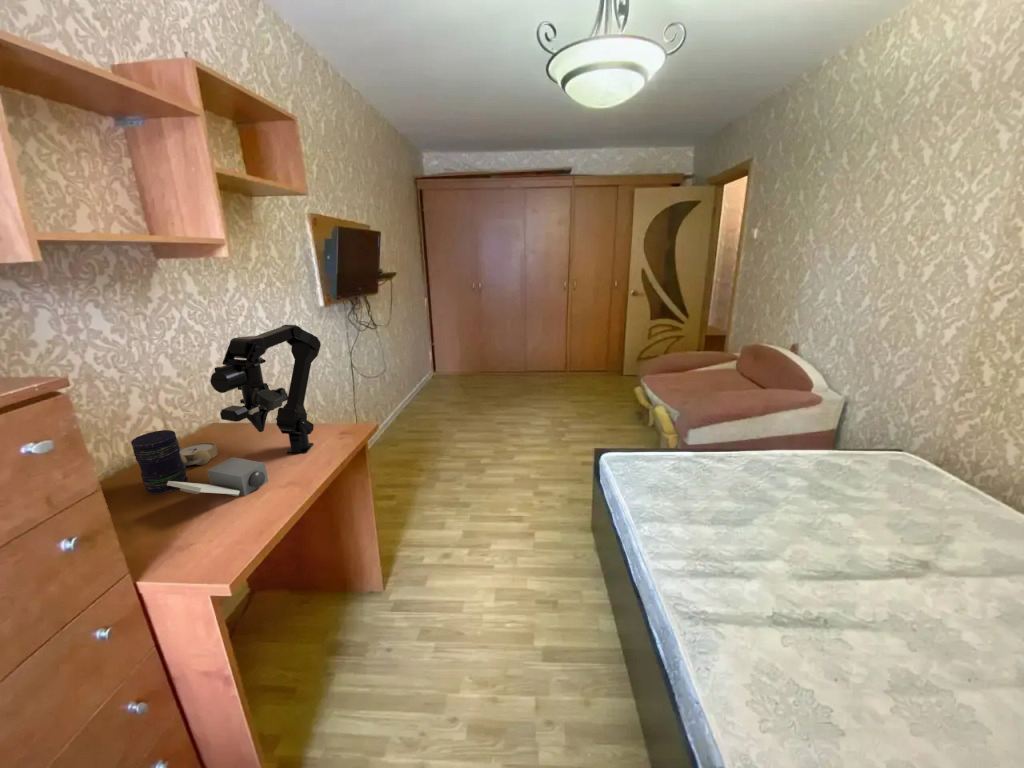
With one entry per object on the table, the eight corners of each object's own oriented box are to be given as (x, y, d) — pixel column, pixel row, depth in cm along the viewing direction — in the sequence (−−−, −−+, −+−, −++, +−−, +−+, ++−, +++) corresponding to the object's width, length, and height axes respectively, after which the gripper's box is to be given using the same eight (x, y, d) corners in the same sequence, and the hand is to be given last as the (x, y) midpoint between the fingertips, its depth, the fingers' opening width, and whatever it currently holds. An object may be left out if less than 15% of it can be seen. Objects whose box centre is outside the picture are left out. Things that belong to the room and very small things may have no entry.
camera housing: (236, 475, 130) (232, 457, 128) (271, 482, 126) (268, 463, 125) (211, 488, 123) (207, 470, 121) (248, 496, 119) (244, 477, 117)
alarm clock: (220, 439, 146) (206, 451, 132) (222, 453, 147) (209, 467, 133) (181, 444, 143) (162, 457, 129) (183, 459, 143) (165, 473, 130)
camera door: (210, 484, 122) (168, 481, 110) (241, 490, 119) (201, 488, 107) (208, 490, 121) (165, 488, 110) (239, 497, 118) (198, 495, 107)
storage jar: (178, 492, 121) (164, 443, 116) (137, 496, 119) (121, 447, 114) (194, 473, 130) (182, 428, 125) (157, 477, 128) (143, 431, 123)
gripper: (246, 395, 113) (256, 449, 118) (298, 374, 130) (306, 422, 135) (213, 390, 116) (225, 443, 121) (269, 371, 133) (277, 418, 138)
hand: (261, 431), depth 129 cm, fingers closed
